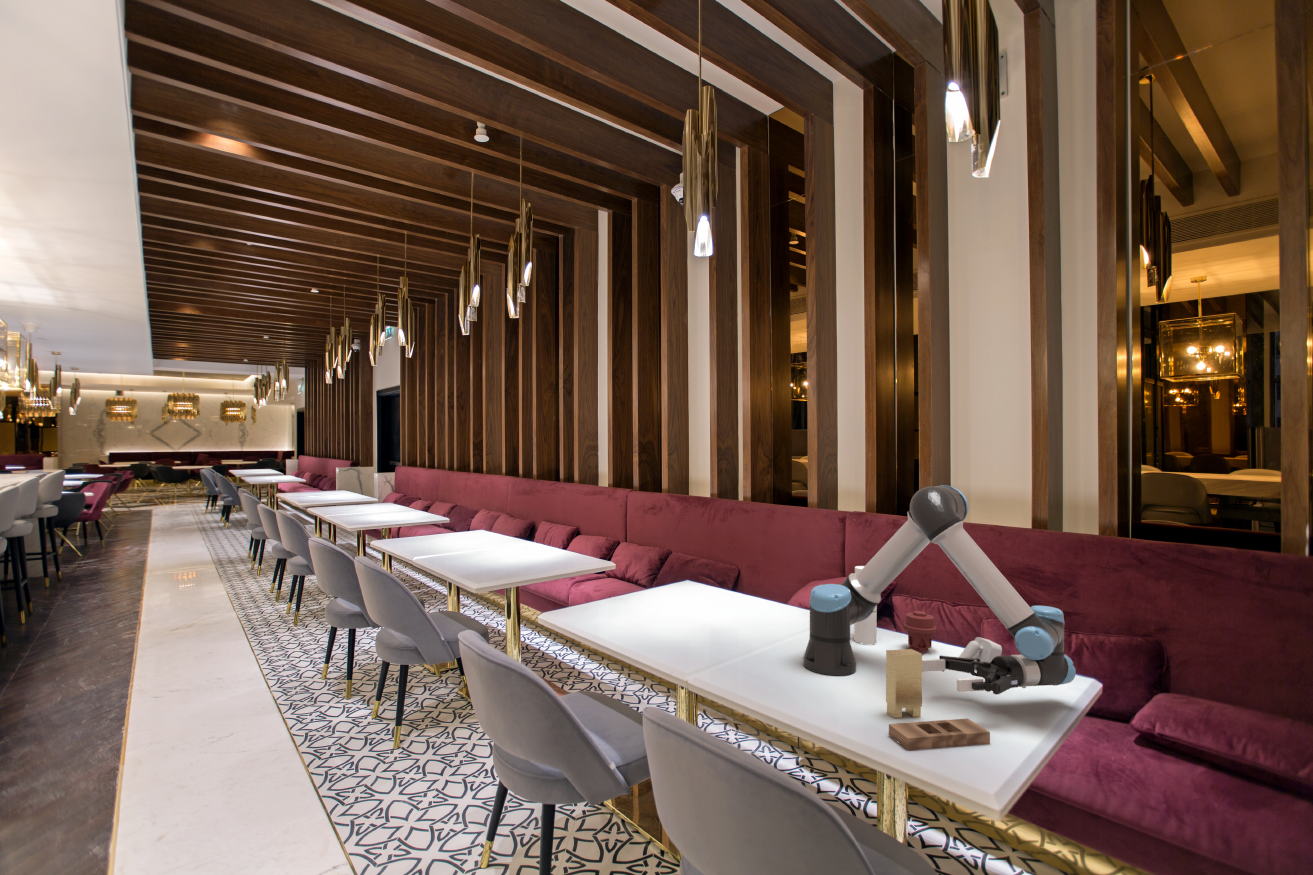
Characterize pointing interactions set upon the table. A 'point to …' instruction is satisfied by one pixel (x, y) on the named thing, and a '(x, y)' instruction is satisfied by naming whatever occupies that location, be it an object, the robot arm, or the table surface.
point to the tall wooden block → (903, 682)
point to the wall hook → (982, 650)
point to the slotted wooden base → (939, 734)
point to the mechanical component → (919, 630)
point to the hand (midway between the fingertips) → (938, 675)
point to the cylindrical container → (866, 625)
